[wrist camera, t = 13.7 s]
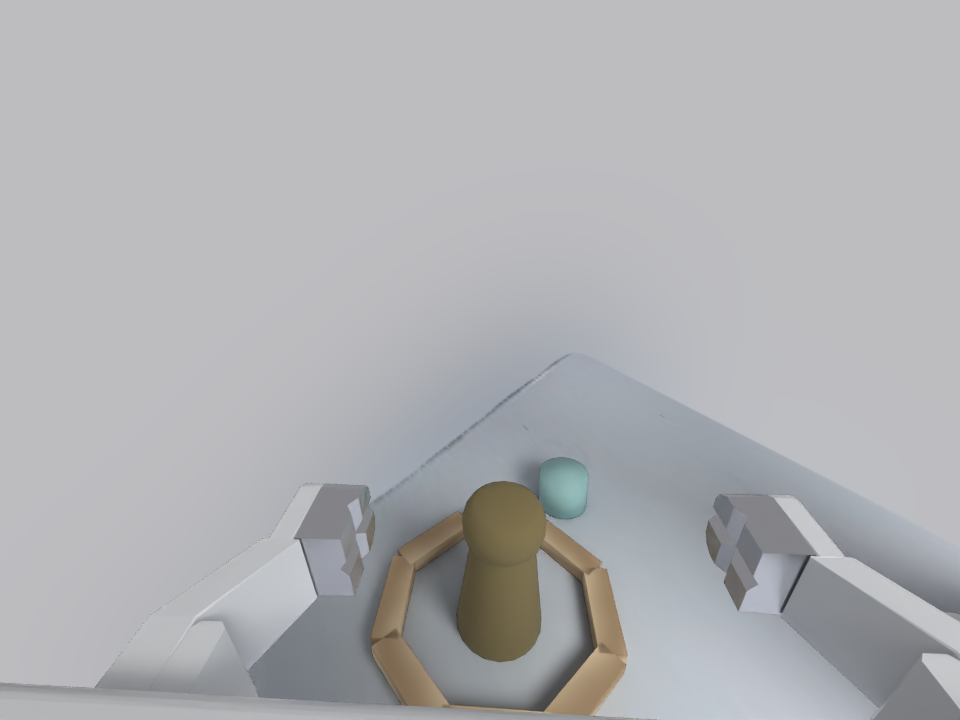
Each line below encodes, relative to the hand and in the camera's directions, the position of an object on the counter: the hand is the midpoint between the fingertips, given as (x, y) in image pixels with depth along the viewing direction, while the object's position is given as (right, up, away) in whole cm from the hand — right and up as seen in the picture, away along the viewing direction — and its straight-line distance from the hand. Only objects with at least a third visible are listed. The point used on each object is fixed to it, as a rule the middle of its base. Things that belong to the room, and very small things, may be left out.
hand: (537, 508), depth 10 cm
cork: (0, -15, +20) cm, 25 cm away
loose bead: (+6, -10, +30) cm, 32 cm away
